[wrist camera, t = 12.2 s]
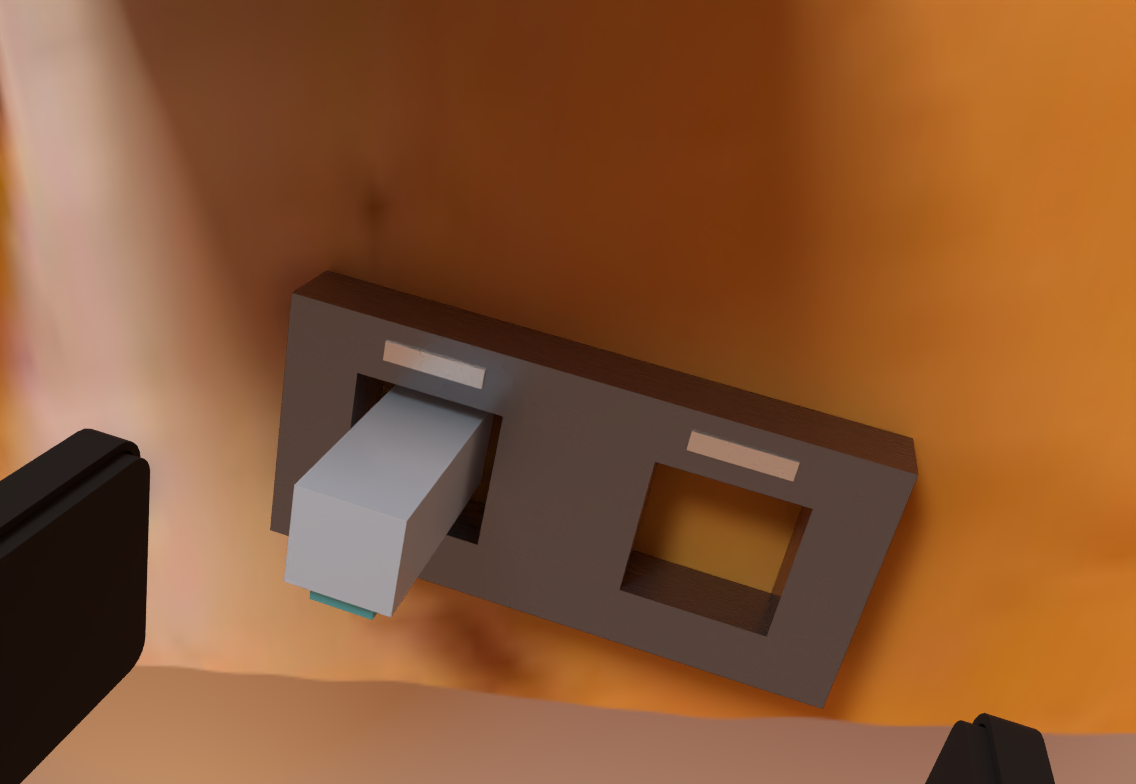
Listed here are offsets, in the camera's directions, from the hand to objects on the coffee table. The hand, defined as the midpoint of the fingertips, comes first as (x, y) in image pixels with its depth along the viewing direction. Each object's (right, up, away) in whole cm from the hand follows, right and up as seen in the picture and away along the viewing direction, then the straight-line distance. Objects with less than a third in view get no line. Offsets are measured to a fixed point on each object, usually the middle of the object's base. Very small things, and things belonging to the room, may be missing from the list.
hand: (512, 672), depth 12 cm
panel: (+1, 0, +31) cm, 31 cm away
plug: (-5, +2, +32) cm, 33 cm away
